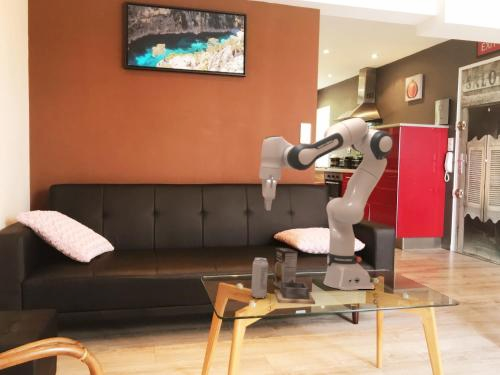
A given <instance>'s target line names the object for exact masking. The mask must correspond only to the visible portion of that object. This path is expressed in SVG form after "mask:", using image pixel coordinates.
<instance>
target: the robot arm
mask: <svg viewBox="0 0 500 375" xmlns="http://www.w3.org/2000/svg"><path fill="white" fill-rule="evenodd" d="M262 142H263V143H262V146H261V153H260V159H261V161H260V162H261V163H260V167H259V174H258V178H259V180H261V186H262V187H261V189H262V190H261V192H262V197H263V198H264V206H263V207H264V209H265V210H266V211H271V209H272V202H273V200H275V198H276V189H277V188H276V187H277V185H278V181H281V180H282V171H283V170H282V169H283V168H285V169H287V170H298V171H306V170H308V169H309V168H311V167H312V166H313V165H314V164H315V162H316V161H317V160H319V159H320V158H322V157H324V156H326V155H328V154H329V153H332V152H336V151H340V150H343V149H346V148H348V147H351V148H352V149H353V150H354V151H355V152H358V153H362V154H363V158H362V161H361V162H360V163H359V165H358V166H357V167H356V169H355V170H354V171H353V173H352V175H351V177H350V178H349V179H348V181H347V185H346V189H345V191H344V194H343V197H335V198H333V199H331V200H330V201H328V203H327V205H326V207H325V208H326V214H327V219H328V227H329V228H328V229H329V244H328V245H329V246H328V248H329V249H328V253H327V257H326V263H327V264H326V265H327V269H326V273H325V276H324V279H323V284H324V285H325V286H327V287H330V288H334V289H339V290H341V291H354V290H353V289H372V288H375V289H376V286H375V285H374V284H373V282H371V277H370V274H369V272H368V271H367V270H366V269H365V268H364V267H363V266H361V264H359V263H361V262H362V260H363V259H362V258H361V256H358V255H356V254H355V245H356V236H355V234H354V229H353V225H356V224H358V223H360V222H361V221H363V218H364V215H365V211H364V210H365V207H366V204H367V202H368V199H369V197H370V195H371V193H372V192H373V190H374V188H375V187H376V186H377V184H378V182H379V181H380V179H381V177H382V176H383V174H384V172H385V169H386V167H387V164H388V160H387V157H389V156H390V153H391V152H392V149H393V147H394V138H393V135H391V134H390V133H389V132H387V131H385V130H380V129H375V128H371V129H370V128H368V125H367V123H366V122H365V120H364V119H363V118H361V117H351V118H348V119H345V120H342V121H339V122H337V123H335V124H333V125H331V126H330V127H328V128H326V130H324V135H323V138H321V139H319V140H317V141H315V142H313V143H311V144H297V145H294V144H293V143H290V142H288V141H287V140H286V139H285V138H284V137H283V136H282V135H272V136H267V137H265V138H264V139H263V141H262ZM372 286H375V287H372Z"/></svg>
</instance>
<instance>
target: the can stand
mask: <svg viewBox="0 0 500 375" xmlns="http://www.w3.org/2000/svg"><path fill="white" fill-rule="evenodd" d="M274 295H275V297H276V300H277V303H282V304H307V305H315V304H316V300H315V299H314V297H313V296H312V294H311V293H310V288H309V286H308V285H307V283H306V282H304V281H303V282H302V281H301V282H300V281H295V282H282V281H281V283H280V288H279V289H274Z"/></svg>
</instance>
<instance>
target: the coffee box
mask: <svg viewBox="0 0 500 375" xmlns="http://www.w3.org/2000/svg"><path fill="white" fill-rule="evenodd" d="M274 249H275V251H274V264H273V265H274V267H273V282H272V283H273V286H275V287H277V288H279V289H280V283H281V281H282V282H296V278H297V277H296V276H297V263H298V251H296V250H293V249H290V248H288V247H285V248H284V247H275V248H274Z"/></svg>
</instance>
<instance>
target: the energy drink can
mask: <svg viewBox="0 0 500 375" xmlns="http://www.w3.org/2000/svg"><path fill="white" fill-rule="evenodd" d="M251 272H252V274H251V291H250V295H251V296H254V297H257V298H263V297H265V298H266V296H267V294H268V293H267V291H268V277H269V276H268V274H269V262H268V259H267V258H266V257H254V260H253V262H252V271H251Z"/></svg>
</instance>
